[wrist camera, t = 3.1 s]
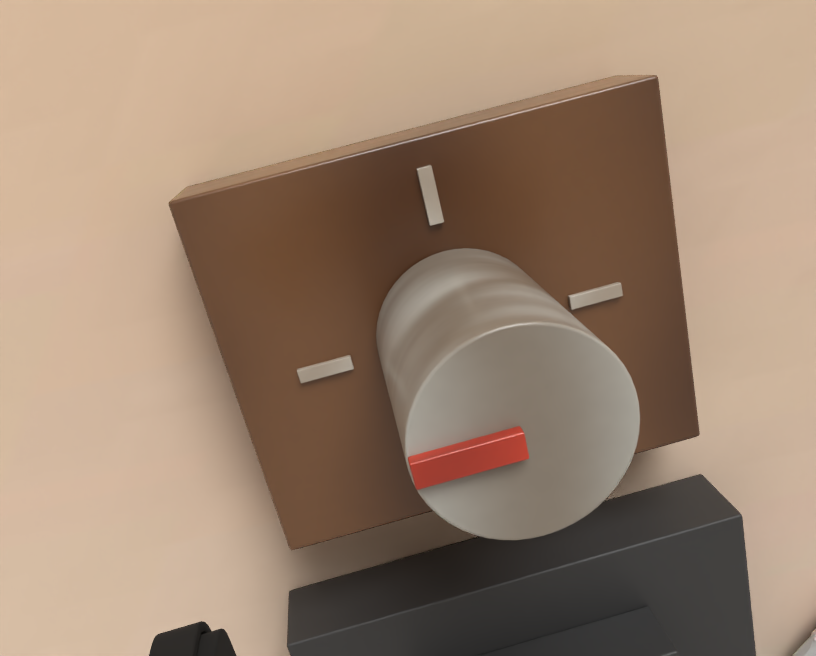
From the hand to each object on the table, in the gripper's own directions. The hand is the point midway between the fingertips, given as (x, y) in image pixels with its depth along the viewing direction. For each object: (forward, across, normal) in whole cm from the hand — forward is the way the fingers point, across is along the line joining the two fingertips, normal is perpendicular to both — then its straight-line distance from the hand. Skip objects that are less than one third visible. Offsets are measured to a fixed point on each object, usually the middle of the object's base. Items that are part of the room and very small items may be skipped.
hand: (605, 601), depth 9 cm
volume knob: (+10, 0, 0) cm, 10 cm away
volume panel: (+13, 0, 0) cm, 13 cm away
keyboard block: (+13, 0, +14) cm, 19 cm away
